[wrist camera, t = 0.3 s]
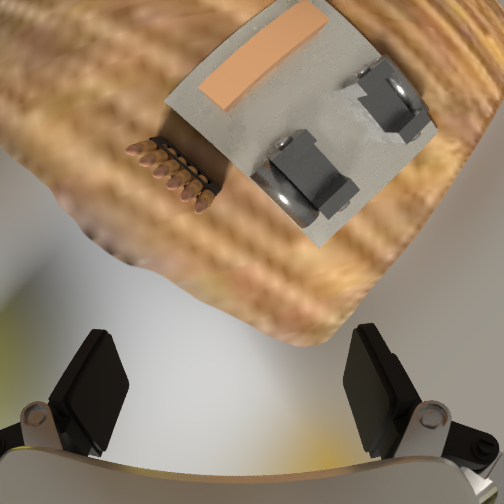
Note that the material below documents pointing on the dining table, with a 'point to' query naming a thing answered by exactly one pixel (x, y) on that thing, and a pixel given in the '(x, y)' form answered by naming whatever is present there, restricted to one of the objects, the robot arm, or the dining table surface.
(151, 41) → the dining table surface
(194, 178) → the ammunition clip
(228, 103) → the bar
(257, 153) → the plate with roller
